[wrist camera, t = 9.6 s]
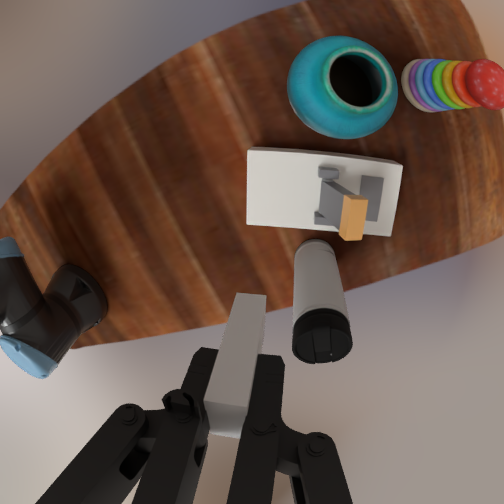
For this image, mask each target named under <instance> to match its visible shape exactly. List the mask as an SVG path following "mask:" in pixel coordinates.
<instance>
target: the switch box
mask: <svg viewBox="0 0 504 504" xmlns="http://www.w3.org/2000/svg"><path fill="white" fill-rule="evenodd" d="M402 169H403V166H402V165H401V164H399V163H397V162H395V161H393V160H387V159H381V158H374V157H367V156H360V155H352V154H344V153H335V152H325V151H315V150H303V149H289V148H272V147H251V148H250V149H248V153H247V225H261V226H275V227H289V228H302V229H314V230H326V231H337V232H339V230H337V229H336V228H335V227H334V226H333V225H332V224H331V223H330V222H329V221H328V220H327V219H326V218H325V217H324V216H323V215H322V214H320V213H319V202H320V191H321V181H322V178H329V179H333V181H334V182H336V183H338V184H339V185H341V186H343V187H344V188H346V189H347V190H349V191H351V192H352V193H354V194H355V195H362V196H363V197H365V198H367V199H368V206H367V212H366V218H365V224H364V230H363V234H370V235H380V236H391V232H392V227H393V222H394V217H395V212H396V207H397V201H398V195H399V189H400V183H401V176H402Z"/></svg>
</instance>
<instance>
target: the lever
mask: <svg viewBox="0 0 504 504" xmlns="http://www.w3.org/2000/svg"><path fill="white" fill-rule="evenodd" d="M367 206H368V199H367V198H365V197H363V196H362V195H355V194H354V193H352V192H351V191H349V190H347V189H346V188H344V187H343V186H341V185H339V184H338V183H336V182H334V181H333V179H329V178H322V181H321V191H320V202H319V213H320V214H322V215H323V216H324V217H325V218H326V219H327V220H328V221H329V222H330V223H331V224H332V225H333V226H334V227H335V228H336V229H337V230H339V235H340V236H341V237H342V238H343V239H344V240H345V241H352V240H362V236H363V230H364V224H365V218H366V212H367Z"/></svg>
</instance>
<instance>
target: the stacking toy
mask: <svg viewBox="0 0 504 504" xmlns="http://www.w3.org/2000/svg"><path fill="white" fill-rule="evenodd" d="M401 83H402V88H403V91H404V94H405V96H406V97H407V99H408V100H409V101H410V102H411V104H413V105H414V106H415V107H416V108H418V109H420V110H422V111H425V112H440V111H446V110H453V109H464V108H471V107H480V106H483V107H485V108H487V109H490V110H499V109H502V108H504V70H503V69H502V67H500V66H499V65H498V64H497V63H495V62H493V61H490V60H487V59H479V60H476V61H474V62H470V61H451V60H444V59H416V60H413V61H411V62H409V63H408V64H407V65H406V66H405V68H404V70H403V72H402V77H401Z"/></svg>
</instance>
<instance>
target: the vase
mask: <svg viewBox="0 0 504 504" xmlns="http://www.w3.org/2000/svg"><path fill="white" fill-rule="evenodd" d="M287 92H288V98H289V101H290V104H291V106H292V108H293V110H294V112H295V113H296V114H297V116H298V117H299V118H300V119H301V120H302V121H303V122H304V123H305V124H306V125H307V126H308V127H310V128H311V129H313V130H315V131H316V132H318V133H320V134H323V135H326V136H329V137H333V138H338V139H355V138H360V137H364V136H367V135H369V134H372V133H374V132H375V131H377V130H379V129H380V128H381V127H382V126H383V125H385V124H386V122H387V121H388V120H389V119H390V117H391V115H392V114H393V112H394V109H395V107H396V103H397V98H398V87H397V81H396V77H395V74H394V72H393V70H392V68H391V66H390V64H389V63H388V61H387V60H386V59H385V57H384V56H383V55H382V54H381V53H380V52H379V51H378V50H376V49H375V48H374V47H372V46H371V45H369V44H368V43H366V42H364V41H361V40H359V39H356V38H352V37H347V36H329V37H324V38H321V39H318V40H316V41H314V42H312V43H311V44H309V45H307V46H306V47H305V48H304V49H303V50H301V52H300V53H299V54H298V55H297V56H296V58H295V59H294V61H293V63H292V65H291V67H290V70H289V73H288V79H287Z"/></svg>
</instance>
